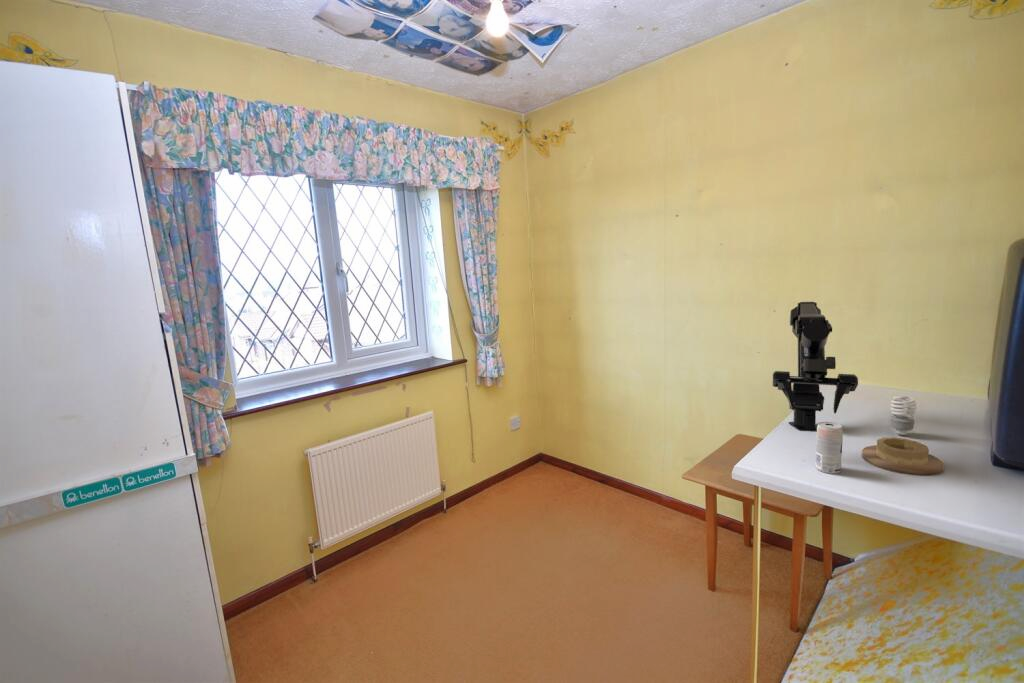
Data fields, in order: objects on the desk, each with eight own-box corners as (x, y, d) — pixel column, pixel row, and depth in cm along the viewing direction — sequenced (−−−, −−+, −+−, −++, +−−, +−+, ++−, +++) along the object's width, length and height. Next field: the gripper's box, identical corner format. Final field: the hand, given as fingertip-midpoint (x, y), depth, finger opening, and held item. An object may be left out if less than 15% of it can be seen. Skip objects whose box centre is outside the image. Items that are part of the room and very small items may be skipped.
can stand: (847, 450, 124) (848, 434, 123) (908, 448, 122) (909, 431, 122) (892, 476, 108) (893, 458, 107) (962, 474, 107) (964, 456, 106)
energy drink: (839, 467, 114) (841, 422, 113) (842, 475, 110) (844, 429, 108) (814, 463, 117) (816, 420, 115) (816, 472, 113) (818, 427, 111)
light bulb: (887, 436, 131) (890, 397, 129) (889, 430, 135) (892, 392, 133) (913, 440, 127) (916, 400, 125) (914, 434, 131) (917, 395, 129)
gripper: (773, 344, 120) (773, 398, 114) (860, 345, 111) (864, 404, 105) (772, 360, 129) (772, 411, 123) (852, 363, 120) (856, 418, 114)
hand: (813, 411), depth 116 cm, fingers open, 9 cm apart
